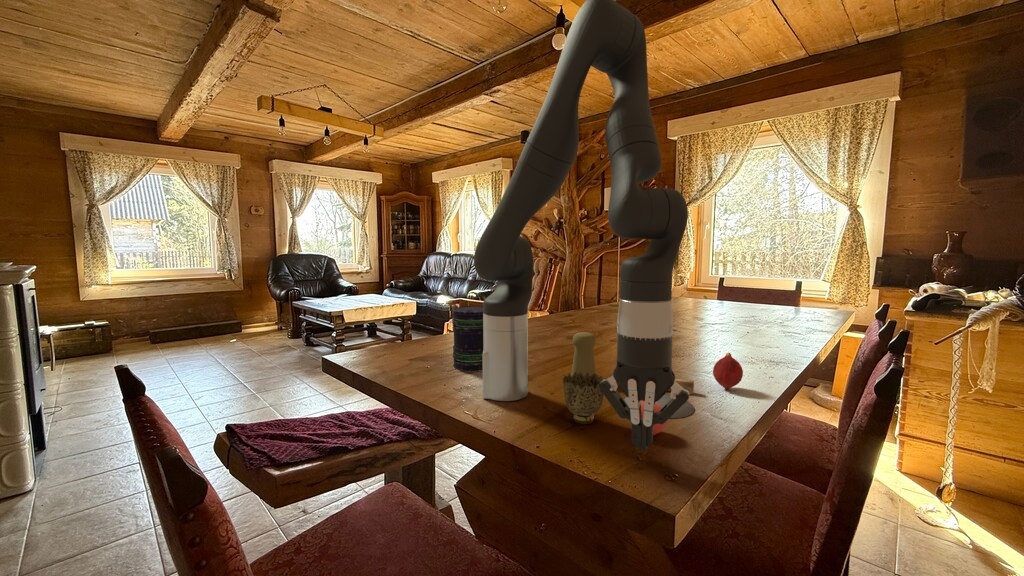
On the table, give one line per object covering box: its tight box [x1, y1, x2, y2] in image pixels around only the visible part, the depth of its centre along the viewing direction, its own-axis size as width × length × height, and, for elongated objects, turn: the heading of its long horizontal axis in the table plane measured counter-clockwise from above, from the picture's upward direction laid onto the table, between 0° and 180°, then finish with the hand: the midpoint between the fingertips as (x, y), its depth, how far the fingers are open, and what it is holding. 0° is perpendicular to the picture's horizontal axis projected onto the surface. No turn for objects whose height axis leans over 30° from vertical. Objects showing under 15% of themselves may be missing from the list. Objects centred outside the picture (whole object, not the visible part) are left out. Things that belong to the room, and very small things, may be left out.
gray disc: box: [623, 393, 695, 419], centre depth 85 cm, size 13×13×1 cm
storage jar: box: [451, 305, 483, 372], centre depth 111 cm, size 10×10×15 cm
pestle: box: [570, 331, 597, 376], centre depth 100 cm, size 6×6×11 cm
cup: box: [562, 372, 605, 425], centre depth 76 cm, size 8×7×8 cm
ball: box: [641, 401, 667, 436], centre depth 72 cm, size 6×6×6 cm
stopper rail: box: [667, 378, 695, 395], centre depth 93 cm, size 12×2×2 cm, turn 65°
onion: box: [712, 352, 744, 390], centre depth 93 cm, size 6×6×8 cm
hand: (641, 447), depth 63 cm, fingers closed
